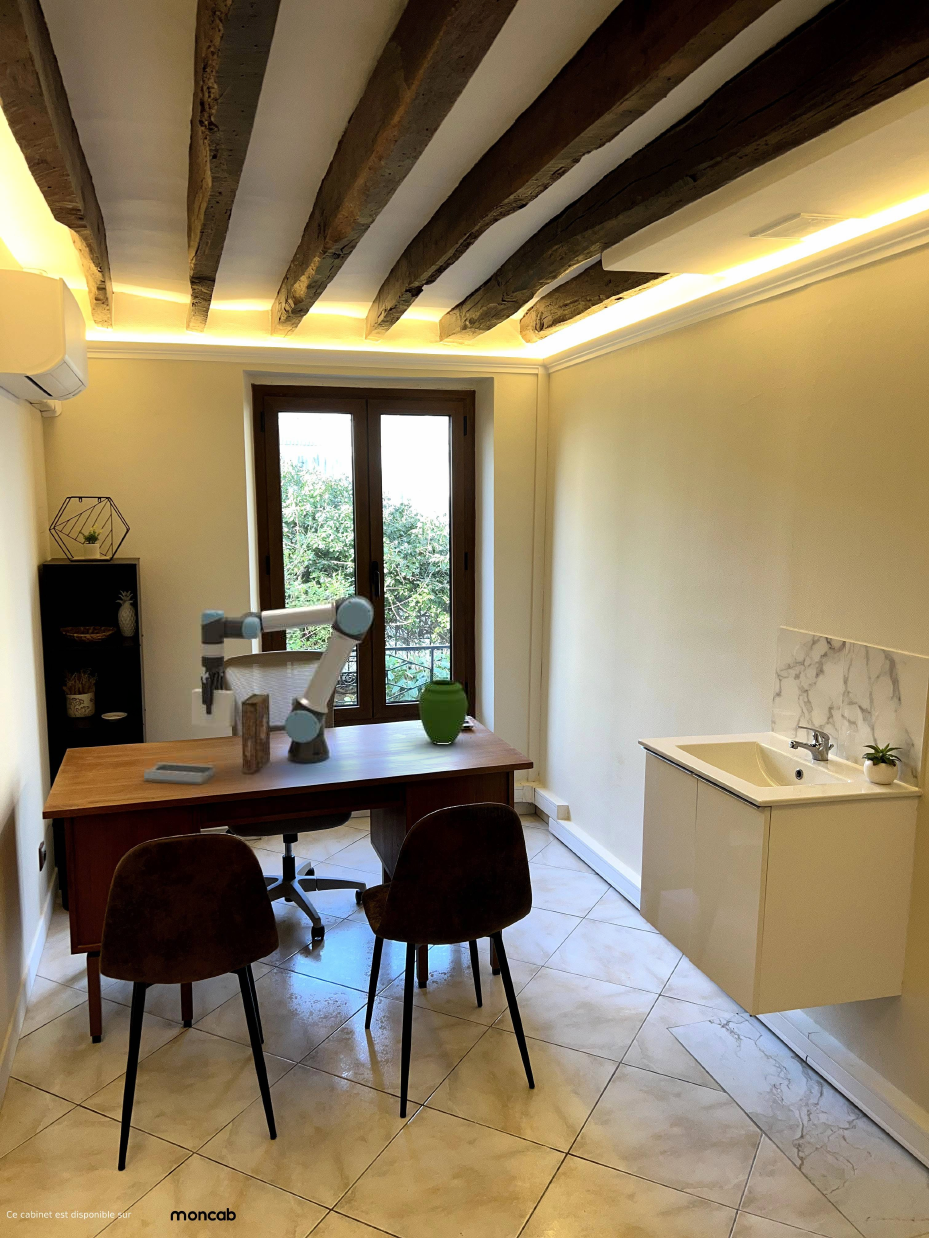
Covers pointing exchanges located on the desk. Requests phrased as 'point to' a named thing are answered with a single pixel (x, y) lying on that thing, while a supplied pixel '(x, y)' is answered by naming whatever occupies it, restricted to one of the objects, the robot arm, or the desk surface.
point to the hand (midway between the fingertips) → (213, 721)
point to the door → (222, 708)
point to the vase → (443, 710)
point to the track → (179, 773)
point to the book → (255, 733)
